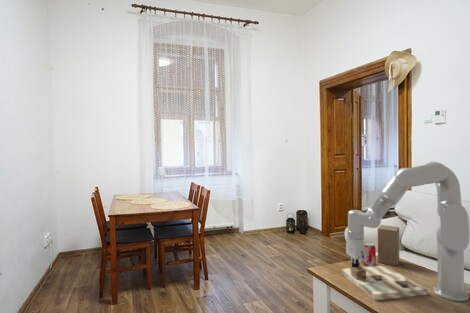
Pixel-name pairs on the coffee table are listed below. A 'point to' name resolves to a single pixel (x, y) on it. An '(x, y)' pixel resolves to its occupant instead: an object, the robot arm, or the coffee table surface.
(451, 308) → the coffee table surface
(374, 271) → the board
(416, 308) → the coffee table surface
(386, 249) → the wooden block
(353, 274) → the walnut block
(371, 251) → the soda can
